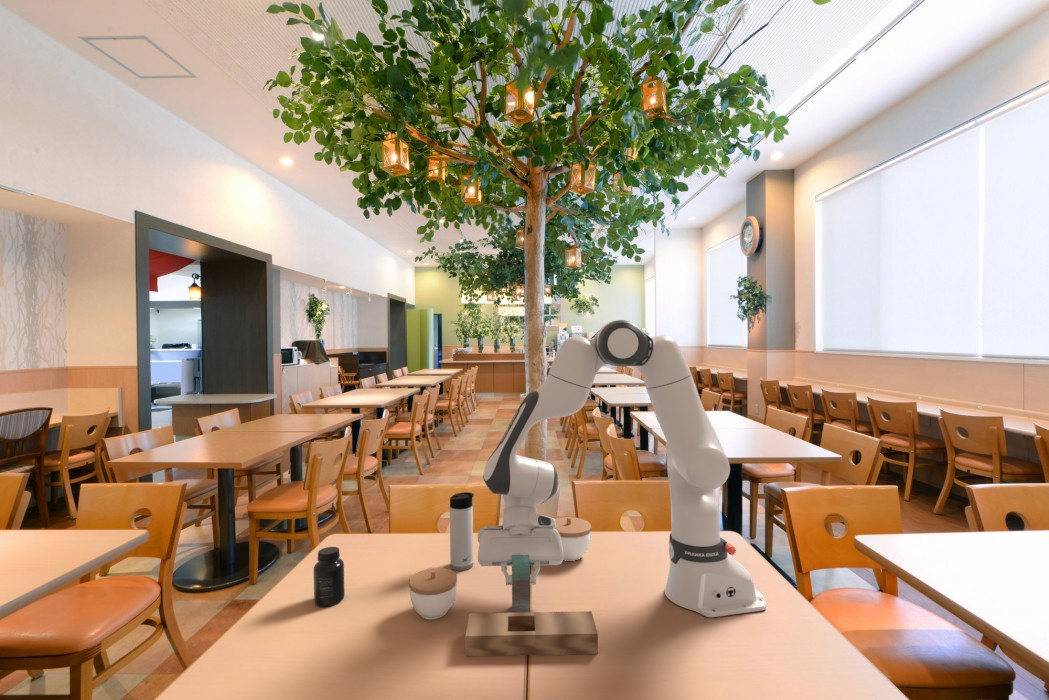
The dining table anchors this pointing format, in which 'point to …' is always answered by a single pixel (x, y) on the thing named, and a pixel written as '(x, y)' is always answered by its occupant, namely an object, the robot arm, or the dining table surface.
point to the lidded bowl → (573, 536)
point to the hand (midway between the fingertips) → (520, 584)
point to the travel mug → (461, 531)
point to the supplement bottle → (328, 577)
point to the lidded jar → (433, 592)
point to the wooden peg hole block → (531, 633)
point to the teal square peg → (520, 583)
